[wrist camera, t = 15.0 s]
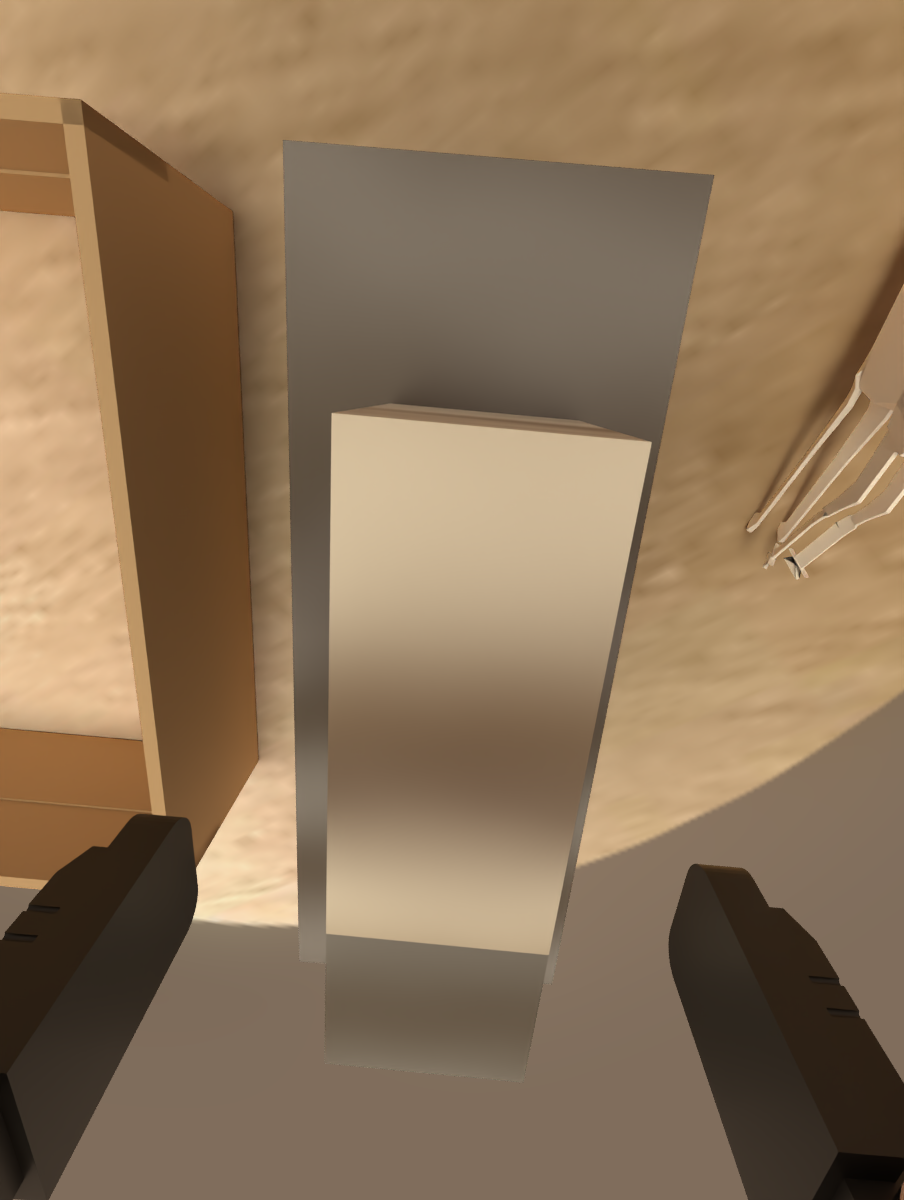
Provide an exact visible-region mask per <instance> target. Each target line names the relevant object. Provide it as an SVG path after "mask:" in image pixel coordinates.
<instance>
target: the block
mask: <svg viewBox="0 0 904 1200" xmlns="http://www.w3.org/2000/svg"><path fill="white" fill-rule="evenodd" d="M651 444H652V442H650V441H646V440H643V439H639V438H636V437H633V436H629V435H626V434H623V433H619V432H616V431H612V430H609V429H606V428H602V427H599V426H595V425H592V424H589V423H585V422H582V421H578V420H567V419H556V418H545V417H534V416H524V415H513V414H502V413H491V412H480V411H469V410H458V409H447V408H436V407H425V406H414V405H403V404H392V403H390V404H384V405H378V406H372V407H365V408H359V409H353V410H347V411H341V412H334V413H332V421H331V514H330V607H329V700H328V793H327V885H326V980H325V983H326V985H325V1063H329V1064H339V1065H349V1066H359V1067H369V1068H370V1067H371V1068H380V1069H391V1070H400V1071H411V1072H422V1073H431V1074H441V1075H452V1076H462V1077H473V1078H482V1079H483V1078H484V1079H493V1080H503V1081H513V1082H523V1081H524V1076H525V1071H526V1066H527V1061H528V1057H529V1051H530V1047H531V1042H532V1037H533V1032H534V1027H535V1021H536V1017H537V1011H538V1007H539V1002H540V996H541V992H542V987H543V982H544V977H545V972H546V967H547V962H548V957H549V952H550V947H551V942H552V937H553V932H554V927H555V922H556V917H557V912H558V907H559V902H560V897H561V892H562V887H563V882H564V877H565V872H566V867H567V862H568V857H569V852H570V847H571V842H572V837H573V832H574V827H575V822H576V817H577V812H578V807H579V803H580V798H581V793H582V788H583V783H584V778H585V773H586V768H587V763H588V758H589V753H590V748H591V743H592V738H593V733H594V728H595V723H596V718H597V713H598V708H599V703H600V698H601V693H602V688H603V683H604V678H605V673H606V668H607V663H608V658H609V653H610V648H611V643H612V638H613V633H614V628H615V623H616V618H617V613H618V608H619V603H620V598H621V593H622V588H623V583H624V578H625V573H626V568H627V563H628V558H629V553H630V548H631V544H632V539H633V534H634V529H635V524H636V519H637V514H638V509H639V504H640V499H641V494H642V489H643V484H644V479H645V474H646V469H647V464H648V459H649V454H650V449H651Z"/></svg>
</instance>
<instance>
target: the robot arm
mask: <svg viewBox="0 0 904 1200" xmlns="http://www.w3.org/2000/svg"><path fill="white" fill-rule="evenodd" d="M197 896H198V884H197V875H196V865H195V856H194V847H193V837H192V828H191V823H190V821H189V819H187V818H185V817H174V816H163V815H151V814H136V815H135V816H133V817H132V818H131V819H130V820H129V821H128V822H127V823H126V824H125V826H124V827H123V828H122V830H121V831H120V832H119V833H118V835H117V836H116V837H115V838H114V840H113V841H112V842H111V844H110V845H109V846H108V847H99V846H92V847H91V848H89V849H88V850H86V851H85V852H84V853H82V854H81V855H79V856H78V857H77V858H75V859H74V860H72V861H71V862H70V863H68V864H67V865H65V866H64V867H63V868H61V869H60V870H58V871H57V872H56V873H55V874H54V875H53V876H52V878H51V879H50V880H49V881H48V882H47V883H46V885H45V886H44V887H43V888H42V889H41V891H40V892H39V893H38V894H37V895H36V896H35V898H34V899H33V900H32V901H31V902H30V903H29V907H28V909H27V911H23V912H22V913H21V914H20V915H19V916H18V918H17V919H16V920H15V921H14V922H13V924H12V925H11V926H10V927H9V928H8V929H7V931H6V932H5V936H4V938H3V939H2V940H0V1200H13V1199H21V1200H49V1198H50V1196H51V1194H52V1192H53V1190H54V1188H55V1187H56V1184H57V1183H58V1181H59V1179H60V1177H61V1175H62V1173H63V1171H64V1169H65V1167H66V1165H67V1163H68V1161H69V1159H70V1158H71V1156H72V1154H73V1152H74V1150H75V1148H76V1146H77V1144H78V1142H79V1140H80V1138H81V1136H82V1134H83V1133H84V1130H85V1128H86V1127H87V1125H88V1123H89V1121H90V1119H91V1117H92V1115H93V1113H94V1111H95V1109H96V1107H97V1105H98V1104H99V1102H100V1100H101V1098H102V1096H103V1094H104V1092H105V1090H106V1088H107V1086H108V1084H109V1082H110V1080H111V1078H112V1076H113V1075H114V1073H115V1070H116V1069H117V1067H118V1065H119V1063H120V1061H121V1059H122V1057H123V1055H124V1053H125V1052H126V1050H127V1048H128V1046H129V1044H130V1042H131V1040H132V1038H133V1036H134V1034H135V1032H136V1030H137V1028H138V1026H139V1024H140V1022H141V1021H142V1019H143V1017H144V1015H145V1013H146V1011H147V1009H148V1007H149V1005H150V1003H151V1001H152V999H153V997H154V996H155V994H156V992H157V990H158V988H159V986H160V984H161V982H162V980H163V978H164V976H165V974H166V972H167V970H168V968H169V966H170V964H171V963H172V961H173V959H174V957H175V955H176V953H177V951H178V949H179V947H180V945H181V943H182V942H183V940H184V938H185V936H186V934H187V932H188V930H189V927H190V925H191V922H192V919H193V916H194V912H195V908H196V903H197ZM669 959H670V966H671V970H672V974H673V978H674V981H675V984H676V987H677V990H678V993H679V996H680V999H681V1002H682V1005H683V1007H684V1011H685V1014H686V1016H687V1020H688V1022H689V1026H690V1028H691V1031H692V1034H693V1037H694V1040H695V1043H696V1046H697V1049H698V1052H699V1055H700V1058H701V1061H702V1064H703V1067H704V1070H705V1073H706V1076H707V1079H708V1082H709V1085H710V1087H711V1091H712V1093H713V1097H714V1100H715V1103H716V1105H717V1108H718V1111H719V1114H720V1117H721V1120H722V1123H723V1126H724V1129H725V1132H726V1135H727V1138H728V1141H729V1144H730V1147H731V1150H732V1153H733V1156H734V1158H735V1162H736V1165H737V1168H738V1171H739V1174H740V1176H741V1179H742V1183H743V1185H744V1188H745V1191H746V1194H747V1197H748V1200H904V1083H903V1082H902V1080H901V1078H900V1077H899V1075H898V1073H897V1071H896V1070H895V1068H894V1067H893V1065H892V1063H891V1062H890V1060H889V1058H888V1057H887V1055H886V1054H885V1052H884V1051H883V1049H882V1047H881V1045H880V1044H879V1042H878V1041H877V1039H876V1038H875V1036H874V1034H873V1033H872V1031H871V1029H870V1028H869V1026H868V1025H867V1023H866V1021H865V1020H864V1019H861V1018H860V1016H859V1010H858V1008H857V1006H856V1005H855V1003H854V1002H853V1000H852V998H851V997H850V995H849V993H848V992H847V990H846V989H845V987H844V986H841V985H840V983H839V977H838V976H837V974H836V972H835V971H834V969H833V967H832V966H831V964H830V963H829V961H828V959H827V958H826V956H825V954H824V953H823V951H822V950H821V948H820V946H819V945H818V943H817V941H816V940H815V939H814V938H813V937H812V936H811V935H810V934H809V933H808V932H807V931H805V929H803V928H802V926H801V925H800V924H799V923H798V922H796V921H795V920H794V919H793V918H792V917H791V916H790V915H789V914H788V913H787V912H786V911H785V910H784V909H783V908H772V907H769V906H768V904H767V902H766V901H765V899H764V897H763V895H762V894H761V892H760V890H759V888H758V886H757V885H756V883H755V881H754V880H753V878H752V877H751V875H750V874H749V873H748V871H746V870H745V869H743V868H736V867H725V866H713V865H702V864H693V865H692V866H691V867H690V868H689V870H688V873H687V876H686V879H685V883H684V886H683V889H682V893H681V896H680V899H679V903H678V906H677V909H676V913H675V916H674V919H673V923H672V926H671V929H670V935H669Z"/></svg>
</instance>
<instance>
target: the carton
mask: <svg viewBox="0 0 904 1200" xmlns="http://www.w3.org/2000/svg"><path fill="white" fill-rule="evenodd" d="M0 210H1V211H13V212H25V213H37V214H50V215H62V216H74V217H75V220H76V228H77V236H78V243H79V251H80V259H81V267H82V274H83V282H84V290H85V298H86V305H87V313H88V321H89V328H90V336H91V344H92V352H93V359H94V367H95V375H96V383H97V390H98V398H99V406H100V414H101V421H102V429H103V437H104V444H105V452H106V460H107V468H108V475H109V483H110V491H111V499H112V506H113V514H114V522H115V530H116V537H117V545H118V553H119V561H120V568H121V576H122V584H123V591H124V599H125V607H126V615H127V622H128V630H129V638H130V646H131V653H132V661H133V669H134V677H135V684H136V692H137V700H138V707H139V715H140V723H141V731H142V738H143V741H136V740H125V739H114V738H103V737H92V736H80V735H69V734H58V733H47V732H36V731H25V730H14V729H2V728H0V886H8V887H19V888H31V889H42V888H43V887H44V886H45V885H46V883H47V882H48V881H49V880H50V879H51V878H52V876H53V875H54V874H55V873H56V872H57V871H58V870H60V869H61V868H63V867H64V866H65V865H67V864H68V863H70V862H71V861H72V860H74V859H75V858H77V857H78V856H79V855H81V854H82V853H84V852H85V851H86V850H88V849H89V848H91V847H92V846H99V847H108V846H109V845H110V844H111V842H112V841H113V840H114V838H115V837H116V836H117V835H118V833H119V832H120V831H121V830H122V828H123V827H124V826H125V824H126V823H127V822H128V821H129V820H130V819H131V818H132V817H133V816H135V815H136V814H151V815H163V816H174V817H185V818H187V819H189V821H190V823H191V828H192V837H193V847H194V856H195V865H196V867H197V865H198V864H199V862H200V860H201V859H202V857H203V855H204V853H205V852H206V850H207V848H208V847H209V845H210V843H211V841H212V840H213V838H214V836H215V835H216V833H217V831H218V829H219V828H220V826H221V824H222V823H223V821H224V819H225V817H226V816H227V814H228V812H229V810H230V809H231V807H232V805H233V804H234V802H235V800H236V798H237V797H238V795H239V793H240V792H241V790H242V788H243V786H244V785H245V783H246V781H247V780H248V778H249V776H250V774H251V773H252V771H253V769H254V768H255V766H256V764H257V762H258V740H257V719H256V698H255V676H254V655H253V633H252V612H251V591H250V569H249V548H248V526H247V505H246V484H245V462H244V441H243V419H242V398H241V377H240V355H239V334H238V312H237V291H236V270H235V248H234V227H233V211H231V210H230V209H229V208H227V207H226V206H225V205H223V204H222V203H220V202H219V201H218V200H216V199H215V198H214V197H212V196H211V195H210V194H208V193H207V192H206V191H204V190H203V189H201V188H200V187H199V186H197V185H196V184H195V183H193V182H192V181H191V180H189V179H188V178H187V177H185V176H184V175H182V174H181V173H180V172H178V171H177V170H176V169H174V168H173V167H172V166H170V165H169V164H168V163H166V162H165V161H163V160H162V159H161V158H159V157H158V156H157V155H155V154H154V153H153V152H151V151H150V150H149V149H147V148H146V147H144V146H143V145H142V144H140V143H139V142H138V141H136V140H135V139H134V138H132V137H131V136H130V135H128V134H127V133H125V132H124V131H123V130H121V129H120V128H119V127H117V126H116V125H115V124H113V123H112V122H111V121H109V120H108V119H107V118H105V117H104V116H102V115H101V114H100V113H98V112H97V111H96V110H94V109H93V108H92V107H90V106H89V105H88V104H86V103H85V102H83V101H82V100H81V99H68V98H56V97H44V96H32V95H19V94H7V93H0Z"/></svg>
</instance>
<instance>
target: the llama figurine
mask: <svg viewBox="0 0 904 1200" xmlns="http://www.w3.org/2000/svg"><path fill="white" fill-rule="evenodd" d="M861 392H863V393H864V394H865V395H866V396H867V397H868V398H869V399H870V400H871V401H870V404H869V407H868V410H867V411H866V413H865V414H864V416H863V417H862V418H861V420H860V421H859V423H858V424H857V426H856V427H855V429H854V430H853V432H852V433H851V435H850V436H849V437H848V439H847V440H846V442H845V443H844V445H843V446H842V448H841V449H840V451H839V452H838V454H837V455H836V457H835V458H834V459H833V460H832V462H831V463H830V464H829V466H828V467H827V468H826V470H825V471H824V472H823V474H822V475H821V476H820V478H819V479H818V480H817V482H816V483H815V484H814V486H813V487H812V488H811V490H810V491H809V492H808V494H807V495H806V496H805V498H804V499H803V500H802V502H801V503H800V504H799V506H798V507H797V508H796V509H795V511H794V512H793V513H792V515H791V516H790V517H789V519H788V520H787V521H786V522H781V523H780V525H779V528H778V530H777V541H778V542H783V543H782V544H781V545H779V544H777V543H775V546H774V549H773V551H772V554H771V553H770V552H768V554H767V557H766V559H765V562H764V564H763V567H764V568H765V569H767V567H768V566H769V564H770V565H771V566H773V565H774V563H775V560H776V557H777V556H778V555H779V554H781V553H782V552H783V551H784V550H785V549H787V548H788V547H789V546H790V545H791V544H792V543H794V542H795V541H796V540H797V539H798V538H799V537H801V536H802V535H803V534H804V533H805V532H807V531H808V530H809V529H810V528H811V527H812V526H814V525H815V524H817V523H818V522H820V521H821V520H823V519H824V518H826V517H830V516H832V515H834V514H836V513H838V512H840V511H842V510H844V509H847V508H849V507H852V506H855V505H857V504H860V503H861V502H862V501H863V500H864V498H865V497H866V496H867V494H868V493H869V492H870V490H871V489H872V488H873V486H874V485H875V484H876V483H877V481H878V480H879V479H880V477H881V476H882V475H883V473H884V472H885V471H886V469H887V468H888V467H889V465H890V464H891V463H892V461H893V460H894V459H895V457H896V456H897V455H898V454H899V455H900V456H902V457H904V284H903V286H902V288H901V290H900V292H899V294H898V296H897V298H896V300H895V302H894V304H893V306H892V308H891V310H890V312H889V314H888V316H887V319H886V321H885V323H884V325H883V327H882V329H881V331H880V333H879V335H878V337H877V339H876V341H875V343H874V345H873V347H872V349H871V350H870V352H869V354H868V355H867V357H866V359H865V361H864V362H863V364H862V366H861V367H860V369H859V371H858V372H857V374H856V376H855V379H854V383H853V386H852V388H851V390H850V392H849V394H848V395H847V397H846V399H845V400H844V402H843V403H842V405H841V406H840V407H839V409H838V410H837V412H836V413H835V414H834V416H833V417H832V418H831V420H830V421H829V423H828V424H827V425H826V427H825V428H824V430H823V431H822V432H821V434H820V435H819V436H818V438H817V439H816V441H815V442H814V443H813V445H812V446H811V448H810V449H809V450H808V451H807V453H806V454H805V455H804V457H803V458H802V459H801V461H800V462H799V463H798V464H797V466H796V467H795V468H794V470H793V471H792V472H791V474H790V475H789V476H788V477H787V479H786V480H785V481H784V483H783V484H782V485H781V487H780V488H779V489H778V490H777V492H776V493H775V494H774V496H773V497H772V498H771V500H770V501H769V502H768V503H767V505H766V506H765V507H764V509H763V510H762V511H761V513H758V512H756V513H755V514H754V515H753V517H752V518H751V519H750V521H749V524H748V526H747V529H746V530H747V531H749V532H750V533H751V532H753V531H754V530H755V529H756V528H757V527H758V526H759V525H760V523H761V522H762V521H763V519H764V518H765V517H766V516H767V514H768V513H769V512H770V510H771V509H772V508H773V507H774V505H775V504H776V503H777V501H778V500H779V499H780V497H781V496H782V495H783V494H784V492H785V491H786V490H787V488H788V487H789V486H790V485H791V483H792V482H793V481H794V479H795V478H796V477H797V476H798V474H799V473H800V472H801V470H802V469H803V468H804V466H805V465H806V464H807V463H808V461H809V460H810V459H811V457H812V456H813V455H814V454H815V452H816V451H817V450H818V449H819V447H820V446H821V445H822V444H823V443H824V441H825V440H826V439H827V438H828V437H829V435H830V434H831V433H832V432H833V431H834V429H835V428H836V427H837V426H838V425H839V423H840V422H841V421H842V420H843V419H844V417H845V416H846V415H847V414H848V413H849V411H850V410H851V409H852V408H853V406H854V404H855V403H856V401H857V399H858V397H859V396H860V394H861ZM891 414H892V416H891ZM890 416H891V419H890V421H889V424H888V426H887V427H888V429H889V430H888V432H887V433H886V435H885V436H884V438H883V440H882V441H881V443H880V445H879V446H878V448H877V449H876V451H875V452H874V454H873V456H872V457H871V459H870V460H869V462H868V464H867V465H866V467H865V468H864V470H863V471H862V473H861V475H860V476H859V478H858V479H857V481H856V482H855V483H854V484H853V485H851V486H850V487H849V488H848V489H847V490H846V491H845V492H844V493H842V494H841V495H840V496H839V497H838V498H836V499H835V500H834V501H832V502H831V503H829V504H828V505H826V506H825V507H824V508H823V510H822V511H820V512H819V513H817V514H816V515H814V516H813V517H812V518H811V519H810V520H809V521H807V522H806V523H805V524H804V525H803V526H802V527H801V528H799V529H798V530H797V531H796V532H795V533H794V534H792V535H791V536H790V537H789V538H788V539H787V540H786V538H787V537H788V536H789V534H790V533H791V532H792V531H793V530H794V528H795V527H796V526H797V525H798V524H799V522H800V521H801V520H802V519H803V517H804V516H805V515H806V514H807V513H808V511H809V510H810V509H811V508H812V507H813V505H814V504H815V503H816V502H817V500H818V499H819V498H820V497H821V496H822V494H823V493H824V492H825V491H826V490H827V488H828V487H829V486H830V485H831V483H832V482H833V481H834V480H835V479H836V477H837V476H838V475H839V474H840V473H841V471H842V470H843V469H844V468H845V466H846V465H847V464H848V463H849V462H850V461H851V460H852V458H853V457H854V456H855V455H856V454H857V453H858V452H859V451H860V450H861V449H862V447H863V446H864V445H865V444H866V443H867V442H868V441H869V440H870V439H871V438H872V437H873V435H874V434H875V433H876V432H877V431H878V430H879V429H880V428H881V427H882V426H883V424H884V423H885V422H886V421H887V420H888V419H889V417H890ZM903 495H904V462H903V464H902V465H901V467H900V468H899V470H898V471H897V473H896V474H895V476H894V477H893V479H892V480H891V482H890V483H889V485H888V486H887V488H886V489H885V491H884V492H883V493H881V494H880V495H879V496H878V497H877V498H875V499H874V500H873V501H872V502H871V503H869V504H868V505H867V506H866V507H864V508H863V509H861V510H860V511H858V512H856V513H855V514H853V515H852V516H851V515H849V516H847V517H845V518H843V519H842V520H840V521H838V522H836V523H835V524H834V525H833V526H831V527H830V528H829V529H828V530H827V531H825V532H824V533H823V534H822V535H820V536H819V537H818V538H817V539H816V540H814V541H813V542H812V543H811V544H809V545H808V546H807V547H806V548H805V549H803V550H802V551H801V552H800V553H798V554H797V555H796V553H795V552H794V550H793V548H788V549H789V551H790V552H791V554H792V557H787V558H784V559H785V561H786V563H787V565H788V566H789V568H790V570H791V572H792V574H793V575H794V577H795V579H799V577H800V573H801V572H802V574H803V575H804V577H808V578H809V576H808V574H807V573H806V571H805V569H804V567H806V566H807V565H808V564H809V563H811V562H812V561H813V560H814V559H816V558H817V557H818V556H820V555H821V554H822V553H823V552H825V551H826V550H827V549H828V548H830V547H831V546H832V545H834V544H835V543H836V542H837V541H839V540H840V539H841V538H843V537H844V536H845V535H847V534H848V533H850V532H851V531H853V530H855V529H856V528H857V526H858V525H860V524H862V523H864V522H866V521H868V520H871V519H874V518H877V517H880V516H883V515H885V514H888V513H890V512H891V510H892V509H893V508H894V507H895V505H896V504H897V503H898V502H899V500H900V499H901V498H902V497H903ZM785 540H786V541H785Z"/></svg>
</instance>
